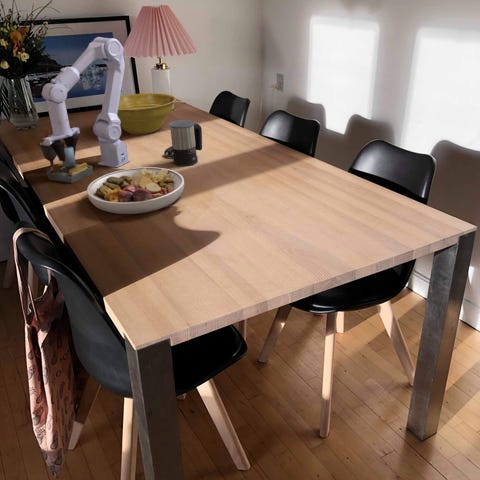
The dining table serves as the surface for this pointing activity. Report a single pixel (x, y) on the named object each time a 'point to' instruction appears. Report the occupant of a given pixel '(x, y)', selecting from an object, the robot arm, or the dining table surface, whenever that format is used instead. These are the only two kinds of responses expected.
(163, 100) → the planter bowl
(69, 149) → the blue-grey rounded cylinder
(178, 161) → the milk frother
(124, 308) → the dining table surface
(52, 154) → the sundae
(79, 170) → the grey square frame
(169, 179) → the bowl
